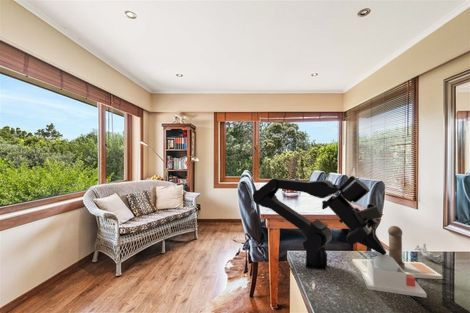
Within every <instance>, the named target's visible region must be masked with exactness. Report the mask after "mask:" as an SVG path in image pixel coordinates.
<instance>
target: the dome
mask: <svg viewBox="0 0 470 313" xmlns="http://www.w3.org/2000/svg"><path fill="white" fill-rule="evenodd" d="M373 260H374V269H377V270H386V271H394V272H397V263H396V261H395V260H394V259H393V258H392V257H391V256H389V254H387V253H386V254H385V255H382V254H380V253H379V254H378V255H376V256H375V257H374V259H373Z"/></svg>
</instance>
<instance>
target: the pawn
mask: <svg viewBox="0 0 470 313" xmlns="http://www.w3.org/2000/svg"><path fill="white" fill-rule="evenodd" d="M387 233H388V255H389V256H391V257H392V258H393V259H394V260H395V261H396V262H397V264H398V265H399V266H400V267H401V268H402V269H404V268H405V263H404V262H405V261H404V262H402V261H403V241H402V240H403V238H402V237H403V230H402V228H400V227H399V226H396V225H392V226H390V227H388V230H387Z"/></svg>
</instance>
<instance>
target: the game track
mask: <svg viewBox="0 0 470 313" xmlns="http://www.w3.org/2000/svg"><path fill="white" fill-rule="evenodd" d="M402 262H404V263H405V268H404V269H403V271H404V272H405V273H406V275H412V276H413V277H414V278H415V279H417V278H418V279H433V280H443V279H444V278H443V275H442V274H440V273H438V272H437V271H436V270H434V269H433V268H431V267H429V266H428V265H427V264H425V263H424V262H419V261H403V260H402ZM352 263H353V264H354V265H355V266H356V268H358V270H359V272H361V273H362V272H367V259H364V258H363V259H361V258H352Z"/></svg>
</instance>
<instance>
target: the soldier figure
mask: <svg viewBox="0 0 470 313" xmlns="http://www.w3.org/2000/svg"><path fill="white" fill-rule="evenodd" d="M422 245H423V246H422V247H420V246H419V245H416V246H415V247H414V250H415V251H419V252H421V254H420V255H421V256H422V257H423V258H424V259H425V260H427V261H433V262H435V263H437V264H440V263H441V262H443V255H440V254H438V255H437V254H435V253H433V252H430V251H429V250H427V248H426V246H427V245H426V243H425V242H424V243H422Z"/></svg>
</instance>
